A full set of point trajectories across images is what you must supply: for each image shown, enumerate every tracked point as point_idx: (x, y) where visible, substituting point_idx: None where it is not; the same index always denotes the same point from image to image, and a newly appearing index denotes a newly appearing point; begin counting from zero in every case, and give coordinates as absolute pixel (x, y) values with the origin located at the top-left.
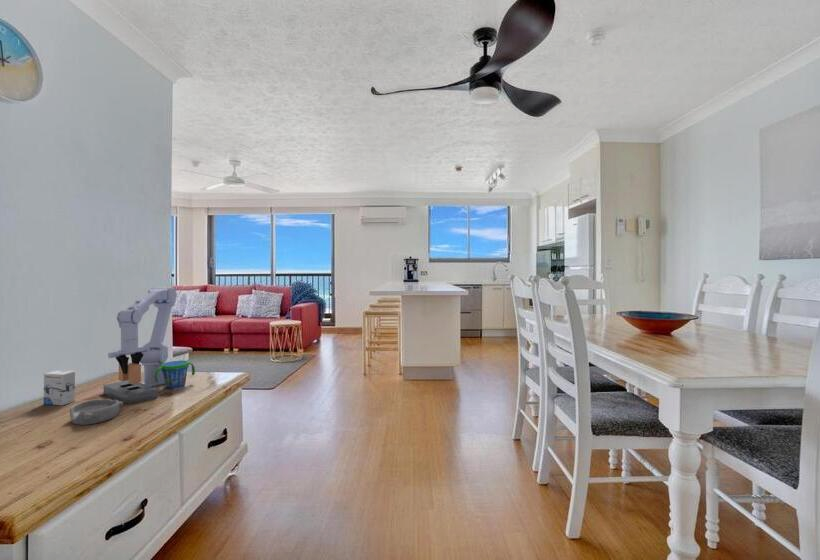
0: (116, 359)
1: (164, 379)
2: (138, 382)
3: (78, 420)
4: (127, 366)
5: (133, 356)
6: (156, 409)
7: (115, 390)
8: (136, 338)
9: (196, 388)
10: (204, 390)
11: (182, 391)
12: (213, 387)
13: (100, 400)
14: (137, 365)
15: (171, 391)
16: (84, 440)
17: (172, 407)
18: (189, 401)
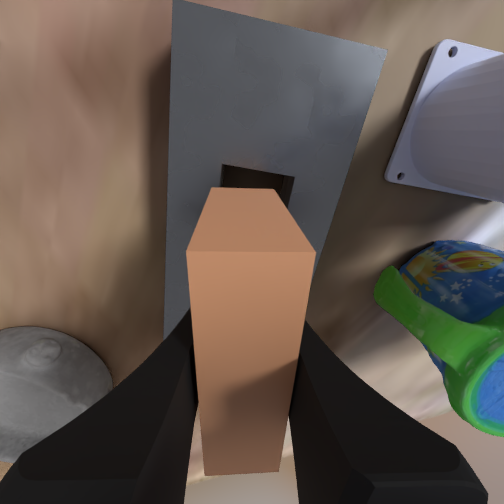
0: (51, 435)
1: (424, 285)
2: (334, 202)
3: None
4: (195, 408)
5: (320, 497)
6: (198, 430)
7: (166, 244)
8: None
9: (412, 367)
10: (394, 401)
11: (366, 359)
12: (434, 398)
13: (41, 384)
14: (245, 468)
15: (355, 329)
16: (4, 467)
17: None
18: (286, 439)
